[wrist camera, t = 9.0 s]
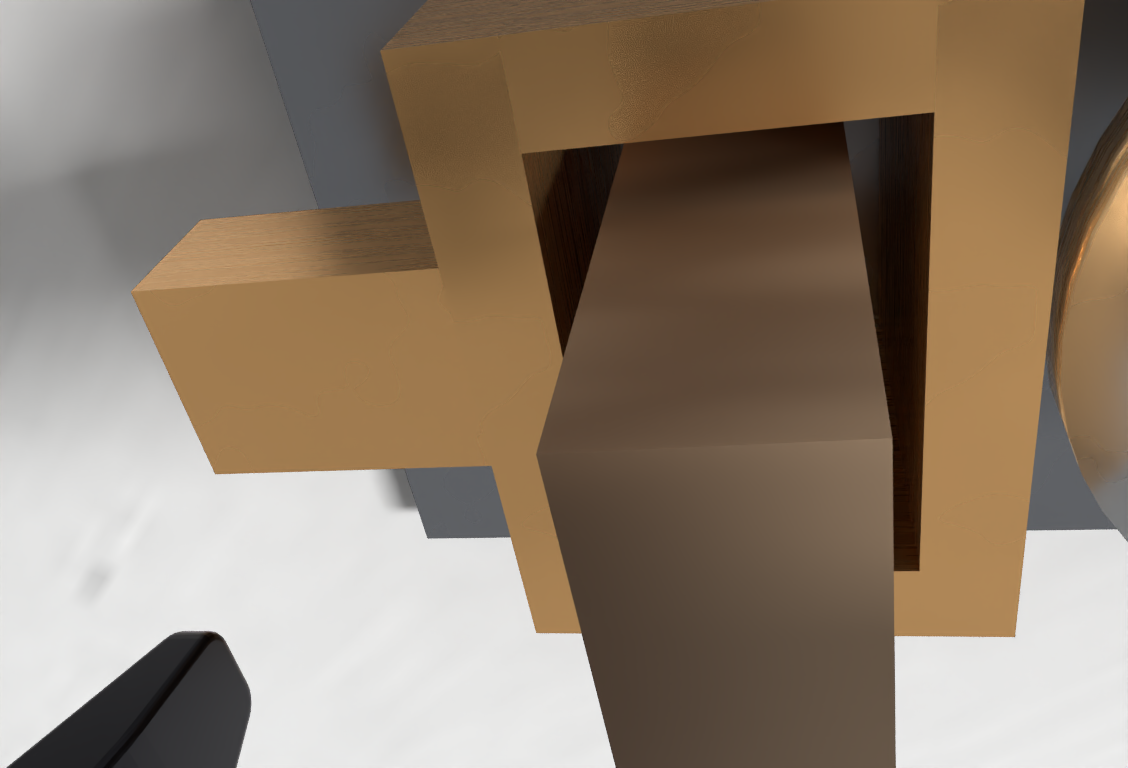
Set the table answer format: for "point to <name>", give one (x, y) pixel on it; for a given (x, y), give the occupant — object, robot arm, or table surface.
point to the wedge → (730, 460)
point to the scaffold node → (571, 226)
